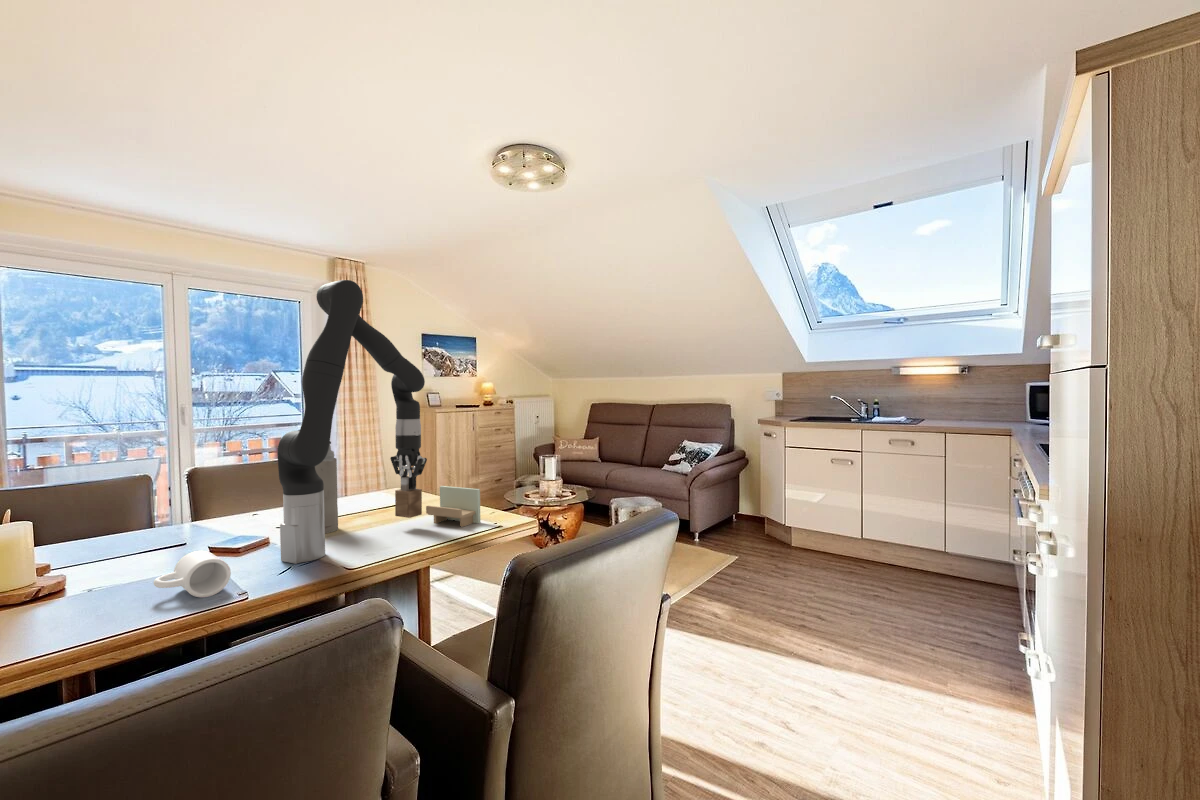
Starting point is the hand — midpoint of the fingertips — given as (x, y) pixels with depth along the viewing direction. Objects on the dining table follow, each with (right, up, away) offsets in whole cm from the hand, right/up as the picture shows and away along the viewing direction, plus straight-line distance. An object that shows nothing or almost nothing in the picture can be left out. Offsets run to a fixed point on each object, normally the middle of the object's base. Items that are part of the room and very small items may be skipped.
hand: (408, 488), depth 161 cm
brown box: (0, -8, 0) cm, 8 cm away
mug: (-28, -14, -50) cm, 59 cm away
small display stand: (+12, -13, +6) cm, 18 cm away
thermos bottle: (-27, -13, 0) cm, 30 cm away
